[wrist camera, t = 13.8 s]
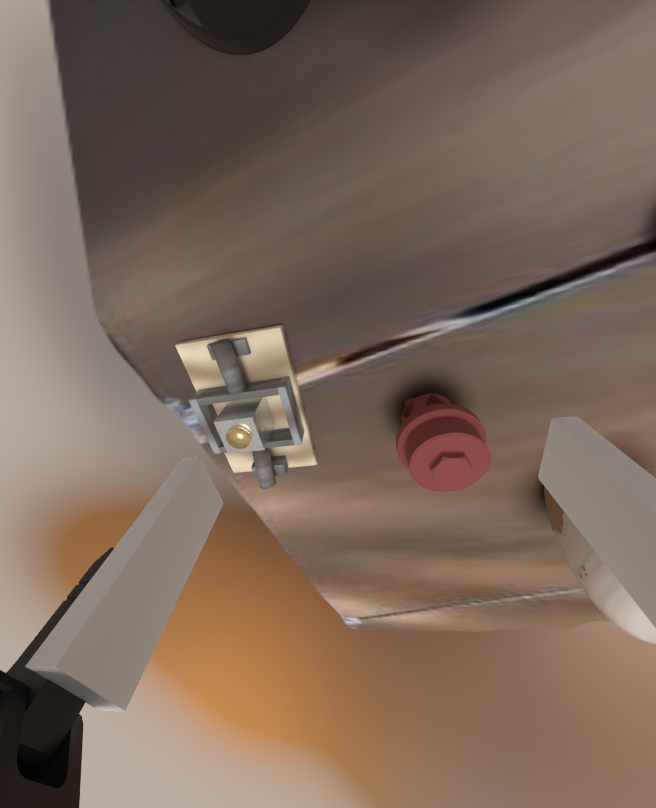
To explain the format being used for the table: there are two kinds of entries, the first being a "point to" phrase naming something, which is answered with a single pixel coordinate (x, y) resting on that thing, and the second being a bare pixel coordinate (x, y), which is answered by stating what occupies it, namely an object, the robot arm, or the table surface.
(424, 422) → the mechanical component
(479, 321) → the table surface
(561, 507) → the robot arm
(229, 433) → the block
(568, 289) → the table surface
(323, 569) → the table surface
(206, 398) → the shaft bench
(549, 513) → the vase
